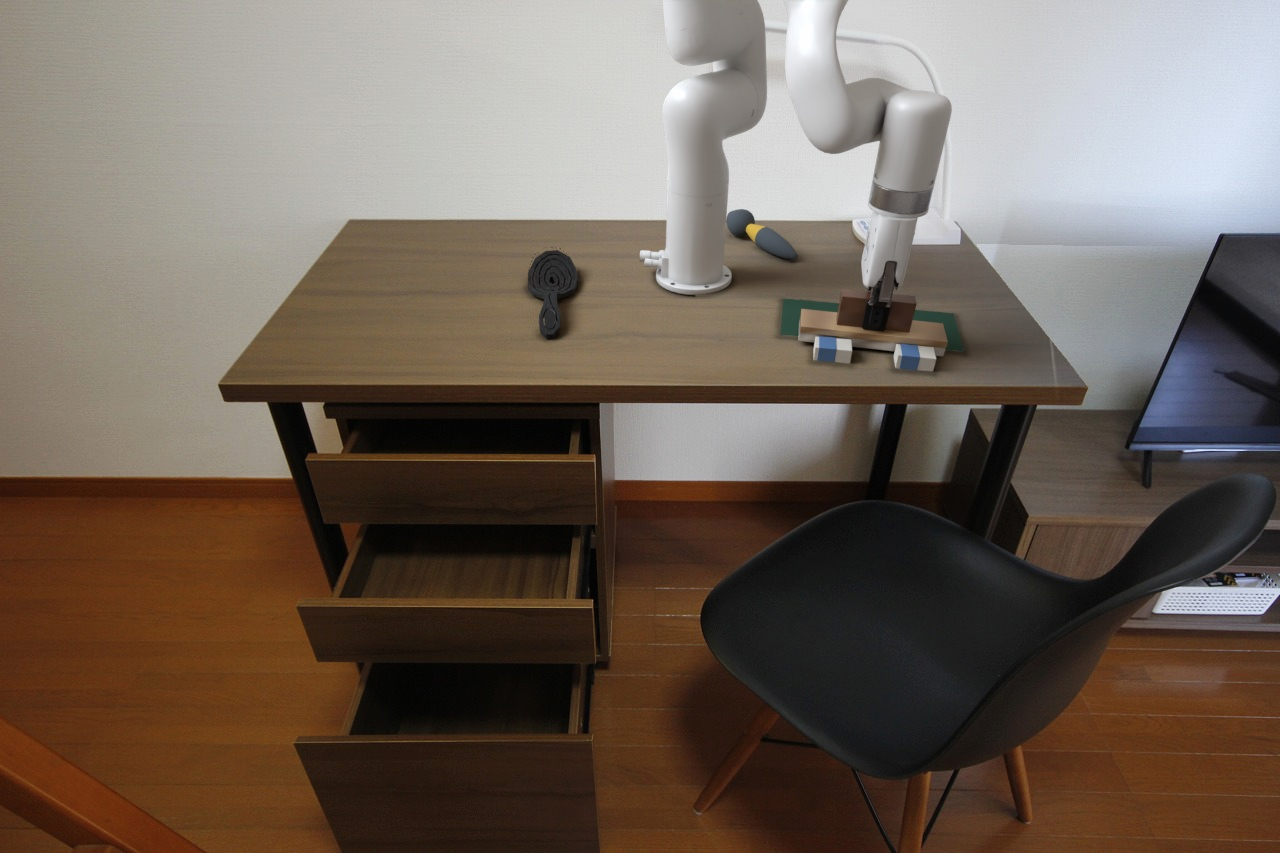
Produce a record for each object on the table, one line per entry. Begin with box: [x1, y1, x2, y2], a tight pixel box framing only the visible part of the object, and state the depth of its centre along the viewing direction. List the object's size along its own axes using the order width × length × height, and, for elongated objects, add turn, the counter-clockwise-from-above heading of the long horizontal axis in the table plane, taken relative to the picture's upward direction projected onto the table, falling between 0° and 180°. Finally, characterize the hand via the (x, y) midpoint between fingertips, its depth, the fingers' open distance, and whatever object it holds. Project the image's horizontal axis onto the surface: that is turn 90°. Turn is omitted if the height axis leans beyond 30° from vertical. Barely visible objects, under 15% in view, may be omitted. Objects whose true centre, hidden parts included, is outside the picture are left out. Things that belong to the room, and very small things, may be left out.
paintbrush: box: [726, 208, 798, 261], centre depth 141 cm, size 20×5×5 cm, turn 38°
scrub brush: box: [797, 288, 948, 357], centre depth 110 cm, size 20×5×7 cm, turn 79°
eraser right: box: [893, 344, 937, 372], centre depth 107 cm, size 5×3×2 cm, turn 79°
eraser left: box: [812, 336, 853, 364], centre depth 109 cm, size 5×3×2 cm, turn 80°
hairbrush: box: [527, 246, 579, 340], centre depth 123 cm, size 8×4×25 cm
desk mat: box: [779, 298, 966, 353], centre depth 117 cm, size 26×12×1 cm, turn 79°
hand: (872, 322), depth 110 cm, fingers closed on scrub brush, 2 cm apart
